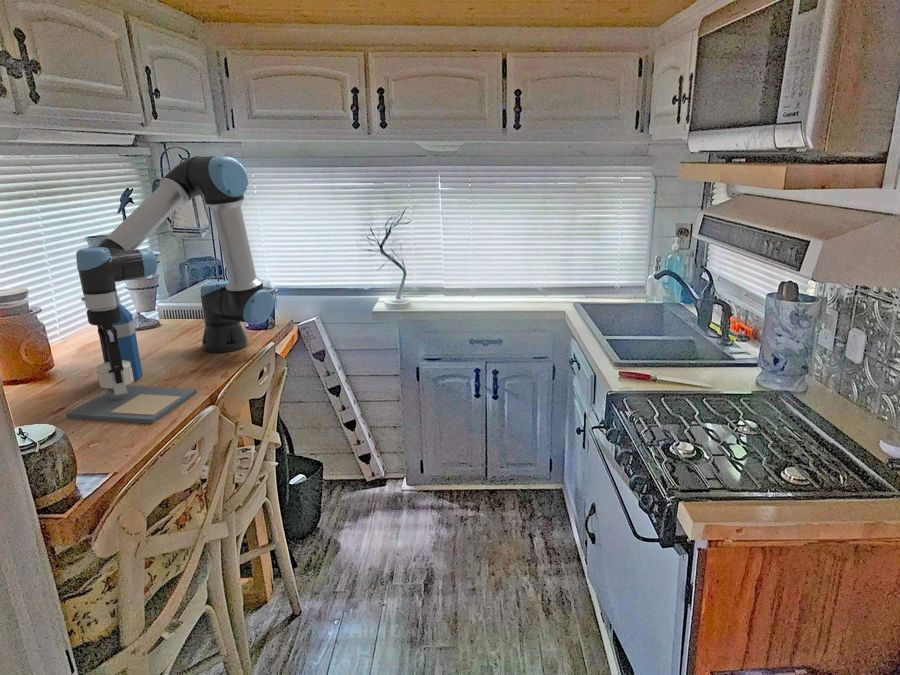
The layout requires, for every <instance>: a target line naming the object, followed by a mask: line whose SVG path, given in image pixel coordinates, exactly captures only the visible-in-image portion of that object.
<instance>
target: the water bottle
mask: <svg viewBox="0 0 900 675" xmlns="http://www.w3.org/2000/svg"><path fill="white" fill-rule="evenodd" d="M120 300H121V299H120V297H119V296H118V301H119V305H117V306H118V307H119V308H120V313H121V320H120V321H119V322H117V323H113V324H112V326H113V327H115V329H116V330H117V339H118V346H119V350H120V355H121V360H125V361H129V362H130V363H131V367H132V372H133V378H134V381H133V382H137V381H139V380H140V379H141V378H142V377H143V376H144V375H143V368H142V363H141V357H140V352H139V345H138V340H137V334H136V327H135V322H134V316H133V314H132V313H131V311H129V309H127V308H126V307H125V306H124V305H123V304H121V301H120ZM96 326H97V330H98V329H99V328H98V325H96ZM98 337H99V338H100V336H99V335H98ZM99 342H100V347H101V351H102V354H103V350H102V345H101V341H100V340H99ZM102 358H103V363H106V362H105V360H104V357H103V356H102Z"/></svg>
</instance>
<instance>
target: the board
mask: <svg viewBox="0 0 900 675" xmlns="http://www.w3.org/2000/svg"><path fill="white" fill-rule="evenodd" d="M125 386H126V391H127V393H123V394H118V395H115V392H114V388H107V389H106V392H103V393H102V394H100V395H97V396H96V397H95V398H93V399H91V400H89V401H87V402H85V403H84V404H81V405H80V406H78V407H76V408H74V409H72V410H70V411H68V412H67V413H65V416H66V419H70V420H73V419H74V420H89V421H105V422H121V423H135V424H137V423H139V424H152V425H153V424H155V423H156V422H158V421H159V420H161V419H162V418H164V417H165V416H166V415H168V414H169V413H171V412H172V411H173V410H175V409H177V408H178V407H179V406H181V405H182V404H183V403H186V402H187V401H188V400H190V399H191V398H193V397H194V396H195V395H196V394H198V390H197V389H195V388H179V387H160V386H159V387H157V386H145V385H144V386H139V385H125Z"/></svg>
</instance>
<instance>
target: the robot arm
mask: <svg viewBox="0 0 900 675" xmlns="http://www.w3.org/2000/svg"><path fill="white" fill-rule="evenodd" d="M248 186H249V177H248V173H247V171H246V169H245V167H244V166H243V165H242V164H241V162H240V161H238V160H237V159H236V158H233V157H231V156H223V155H209V156H208V155H207V156H199V155H198V156H192V157H188V158H186V159H185V160H183V161H181V162H179V164H177V165H176V166H174V167H173V168H172V169H171V170H169V172H168V173H166V174H165V175H164V176H163V177H161V179H160V180H159V186H158V187H157V188H156V189H155V190H154V191H153V192H152V193H151V194H150V195H149V196H148V197H147V198H146V199H145V200H144V201H143V202H142V203H141V204H140V205H138V207H137V208H135V210H134V211H132V212H131V213H130V214H129V215H128V216H127V217H126V218H125V219H123V221H122V222H121V223H120V224H119V225H118V226H117V227H116V228H115V229H114V230H113V231H112V232H111V233H110V234H108V235H107V236H106V237H105V239H104V240H102V241H101V242H100V243H99V244H98V245H96V246H95V245H94V246H90V247H89V246H88V247H85V248H81V249H78V250H77V251H76V254H75V256H76V258H75V259H76V260H75V261H76V269H77V270H78V275H79V280H80V285H81V289H82V294H83V297H81V298H80V299H81V301H82V302H84V306H85V308H86V309H87V310H86V316H87V320H88V323H89V325H91V326H97V325H98V327H97V334H98V337H99V336H100V337H99V342H100V341H101V343H100V346H101V345H102V348H101V351H102V350H103V353H102V358H103V357H104V359H103V361H104V360H105V362H110V367H111V370H109V371H108V372H109V373H111V376H112V382H113V387H114V392H115V395H118V394H123V393H127V391H126V386H127V385H126V386H125V380H124V375H123V370H124V367H123V365H122V360H121V355H120V350H119V346H118V339H117V330H116V329H115V327H113V326H112V324H113V323H117V322H119V321H120V320H121V313H120V308H119V307H118V306H117V305H119V301H118V297H119V296H118V292H117V288H116V287H117V285H116V283H119V282H123V281H128V280H129V281H130V280H134V279H135V280H136V279H139V278H140V279H141V278H143V279H144V278H145V277H146V278H147V277H150V276H153V275H154V274H155V273H156V272H157V269H158V263H157V262H158V261H157V258H156V255H155V254H154V252H152V251H151V250H149V249H147V248H143V249H139V247H140V246H141V245H142V244H143V243H144V241H146V240H147V239H148V238H149V237H150V236H151V235H152V234H153V233H154V232H155V230H157V229H158V228H159V227H160V226H161V225H162V224H163V222H165V220H166V219H168V218H169V217H170V216H171V214H173V212H174V211H175V210H176V209H178V208H179V207H180V206H181V205H185V204H187V203H189V202H190V200H192V199H194V198H195V197H198V196H203V200H204V204H205V205H206V207H209V208H210V209H211V211H212V215H213V218H214V219H213V220H214V224H215V228H216V232H217V235H218V240H219V244H220V248H221V252H222V257H223V261H224V265H225V269H226V274H227V278H228V280H220V281H219V280H218V281H214V282H209V283H206V284H202V286H201V287H200V299H201V307H202V313H203V320H204V332H203V335H202V341H201V345H202V346H201V347H202V350H203V351H205V352H209V353H227V352H232V351H233V352H234V351H238V350H241V349H244V348H245V347H247V346H248V344H249V342H248V336H247V335H246V332H245V330H244V328H243V326H242V323H246V324H250V325H252V324H255V325H260V324H263V323H265V321H267V320H268V319H269V318H270V317H271V315H272V313H273V311H274V306H275V301H274V296H273V295H272V293H271V292H269V291H268V290H266V289H264V285H263V280H262V279H261V278H259V277H258V276H257V273H256V270H255V265H254V261H253V260H254V259H253V256H252V252H251V247H250V241H249V238H248V233H247V229H246V228H247V227H246V224H245V223H246V222H245V220H244V214H243V210H242V207H241V205H242V203H243V202H244V200H245V196H244V194H245V193H246V192H247V189H248ZM241 322H242V323H241ZM98 328H99V329H98ZM116 366H117V367H116Z"/></svg>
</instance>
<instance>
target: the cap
mask: <svg viewBox="0 0 900 675" xmlns="http://www.w3.org/2000/svg"><path fill="white" fill-rule="evenodd" d="M122 365H123V367H124V370H123V375H124V380H125V385H126V386H129V385H130V384H132V383H133V382H135V381H134V378H133V372H132V367H131V363H130V362H129V361H125V360H122ZM116 367H117V366H116ZM109 370H111V367H110V362H106V363H104V362H103V363H100V364H99V365H97V366H96V374H97V378H98V384H99V387H100V388H103V389H108V388H114V387H113V382H112V376H111V373H109V372H108V371H109Z"/></svg>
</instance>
